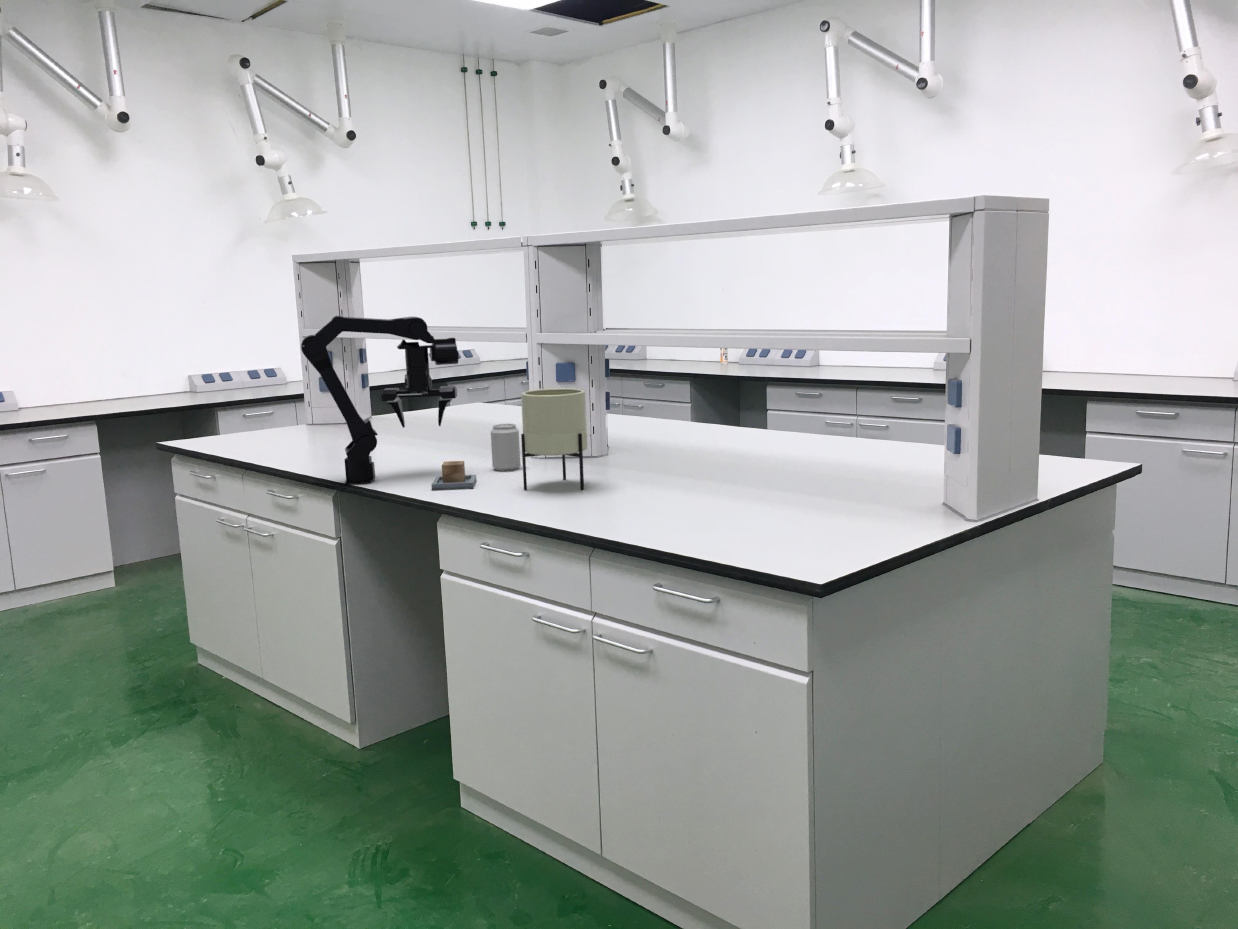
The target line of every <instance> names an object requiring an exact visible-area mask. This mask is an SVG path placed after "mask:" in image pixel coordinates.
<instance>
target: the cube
mask: <svg viewBox="0 0 1238 929" xmlns="http://www.w3.org/2000/svg"><path fill="white" fill-rule="evenodd" d="M465 468H466V467H465V460H458V461H457V460H455V461H454V460H451V461H443V463H442V464H441V476H442V478H443V483H455V482H465V475H466V472H465V471H466V469H465Z"/></svg>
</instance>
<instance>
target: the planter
mask: <svg viewBox="0 0 1238 929" xmlns="http://www.w3.org/2000/svg"><path fill="white" fill-rule="evenodd" d="M520 400H521V401H520V402H521V418H522V433H521V434H520V441H521V459H522V461H521V462H522V476H523V477H522V478H523V479H522V480H523V491H527V490H528V484H527V483H528V482H527V467H526V463H527V462H526V458H529V457H537V456H538V457H540V456H561V460H562V461H561V462H562V480H563V481H567V471H566V470H567V469H566V468H567V464H566V456H569V457H576V458H578V459H579V461H578V462H579V484H580V486H579V487H580V490H581V491H585V480H584V479H585V478H584V457H583V456H584V455H583V451H586V450H587V449H588V435H587V434H588V433H587V409H586V408H587V406H586V403H587V402H586V391H585V390H583V389H578V388H541V389H534V390H533V389H532V390H526V391H523V392H521V394H520Z"/></svg>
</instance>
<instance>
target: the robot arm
mask: <svg viewBox="0 0 1238 929" xmlns="http://www.w3.org/2000/svg"><path fill="white" fill-rule="evenodd" d="M343 332H346V333H347V332H349V333H350V332H351V333H368V334H386V335H393V336H396V337H401V338H403V339H402V340H401V342H400V343H399V344H398V345H397V346H396V349H398V350H404V352H405V367H406V374H404V387H405V388H407V389H406V390H400V388H399V387H386V388H384V389H382V391H381V392H380V400H381V402H386V405H390V406H391V407H392V409H393V411H394V412H395V414H396V416H397V418H398V420H399V422H400V425H401V426H402V428H406V425H405V424H406V423H405V422H406V421H405V416H404V411H403V404H402V399H400V398H426V397H427V398H428V397H439V398H440V399H439V400H438V413H437V416H438V417H437V421H438V422H437V423H438V426H439V427H441V425H442V422H443V418H444V413H445V409H446V407H447V405H448V403H450V402H452V401H453V399H456V398H457V397H458V388H457V386H455V385H441V386H440V387H439V388H437V389H436V388H433V382H432V381H433V379H432V377H431V375H430V374H431V373H430V364H429V357H430V362H434V364H435V365H436V366H443V365H458V364H459V350H458V346H457V343H456V342H457V340H456V338H455V337H448V338H437V339H436V338H434V336H433V335H432V334H431V333H430V332H429V331H428V325H427V322H426V321H425V320H424V319H423V318H421V317H418V316H406V317H397V318H396V317H395V318H390V319H389V318H388V319H386V318H371V317H369V318H368V317H354V316H353V317H352V316H342V315H334V316H333V317H332V318H331V320H330V321H329V322H328V323H326V324H325V325H324V326H323V327H322V328H320V329H319V330H318V331H317V332H316V333H315V334H309V335H307V336H305V337H304V338H303V340H302V342H301V344H300V349H301V352H302V354H303V355H304V357H305V358H306V359H307V360H308V361H309V363H310V364H311V365H312V367H313V368H314V369H315V370H316V371H317V372H318V373H319V375H320V377H321V379H322V381H323V382H324V384H325V386H326V388H327V390H328V391H329V393H330V395H331V397H332V398H333V401H334V402H335V404H336V406H337V408H338V409H339V411H340V413H341V415H342V417H343V419H344V420H345V422H346V425H347V428H348V431H349V434H350V437H351V441H350V442H349V444H348V445H346V446H345V448H344V451H345V454H346V458H344V470H345V481H344V485H352V484H353V485H354V484H355V485H356V484H371V483H372V482H373V481H374V480H375V478H376V470H375V461H373V460H372V455H371V452H373V451H374V450H375V449H376V447H377V445H378V439H377V437H376V436H378V435H379V434H378V433H377V431H376V430H375V429H374V428H373V425H372V423H371V420H370V418H369V417H368V418H366V419H363V418H362V417H361V416H360V414H359V413H358V411H357V409H356V407H355V406H354V404H353V401H352V400H351V398H350V396H349V394H348V392H347V391H346V389H345V387H344V385H343V384H342V381H341V379H340V378H339V376H338V374H337V372H336V371H335V368H334V367H333V364H332V361H331V357H330V355H329V352H328V349H327V346H328V345H329V344H331V343H332V342H333V341H334V340H335V339H336V338H337V337H338V336H340V334H341V333H343ZM405 339H410V340H414V341H406V340H405ZM419 340H420V341H422V342H423V343H425V345H420V343H419ZM427 344H428V345H427ZM413 392H415V393H413ZM370 455H371V456H370Z"/></svg>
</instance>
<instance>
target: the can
mask: <svg viewBox="0 0 1238 929" xmlns="http://www.w3.org/2000/svg"><path fill="white" fill-rule="evenodd" d="M490 442H491V443H490V445H491V459H492V460H491V461H492V462H491V463H492V464H491V465H492V468H493V469H495V470H496V471H498V472H511V471H517V470H518V469H519V467H521V449H520V448H521V447H520V430H519V428H518V427H517V424H514V423H497V424H493V425H492V429H491V430H490Z"/></svg>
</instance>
